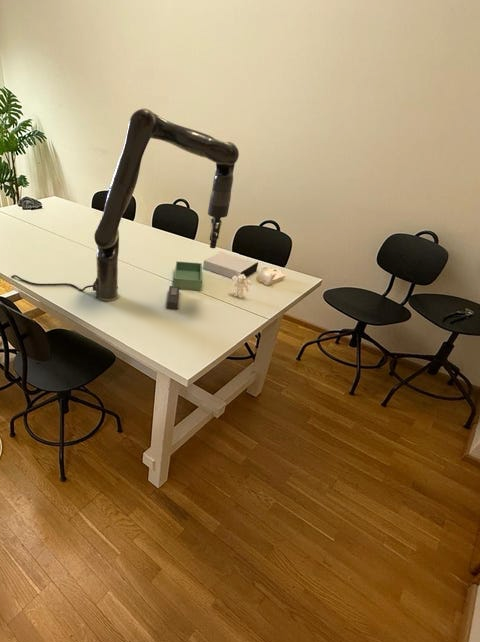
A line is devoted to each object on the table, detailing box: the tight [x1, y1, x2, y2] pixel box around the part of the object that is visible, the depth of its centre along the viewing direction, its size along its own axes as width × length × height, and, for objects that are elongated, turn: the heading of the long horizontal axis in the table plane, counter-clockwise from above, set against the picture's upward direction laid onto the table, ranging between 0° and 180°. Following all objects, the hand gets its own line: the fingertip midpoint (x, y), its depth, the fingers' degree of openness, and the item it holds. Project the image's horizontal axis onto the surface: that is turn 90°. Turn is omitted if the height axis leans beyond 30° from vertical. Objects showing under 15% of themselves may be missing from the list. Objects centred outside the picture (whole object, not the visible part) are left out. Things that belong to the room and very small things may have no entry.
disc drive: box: [202, 251, 259, 279], centre depth 195 cm, size 18×22×5 cm
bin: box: [172, 261, 203, 292], centre depth 184 cm, size 13×21×5 cm, turn 171°
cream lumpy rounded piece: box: [255, 265, 286, 286], centre depth 185 cm, size 13×7×8 cm, turn 124°
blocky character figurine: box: [231, 272, 252, 299], centre depth 169 cm, size 9×4×12 cm, turn 53°
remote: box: [166, 285, 180, 310], centre depth 166 cm, size 5×16×3 cm, turn 171°
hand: (212, 244), depth 148 cm, fingers open, 8 cm apart
